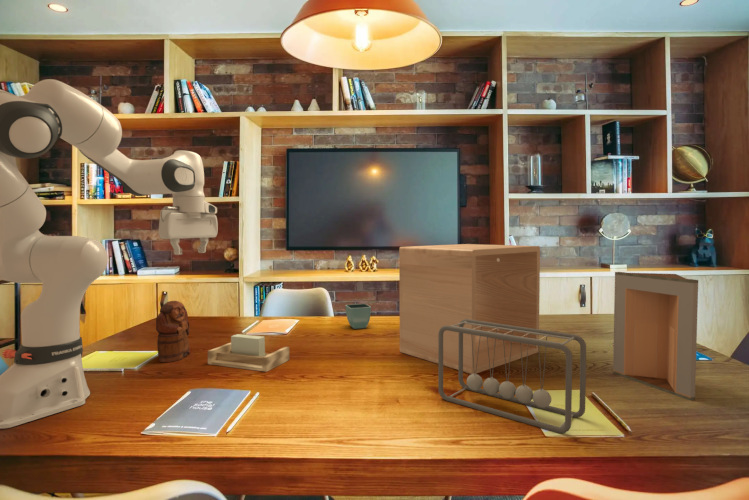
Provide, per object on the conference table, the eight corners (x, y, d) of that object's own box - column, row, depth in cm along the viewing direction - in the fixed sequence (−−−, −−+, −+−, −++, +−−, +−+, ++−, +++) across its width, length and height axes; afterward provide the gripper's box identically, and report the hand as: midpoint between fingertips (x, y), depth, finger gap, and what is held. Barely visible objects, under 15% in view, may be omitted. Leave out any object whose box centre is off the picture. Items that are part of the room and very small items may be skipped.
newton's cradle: (437, 398, 105) (437, 324, 104) (459, 386, 113) (460, 317, 112) (570, 437, 85) (571, 346, 84) (585, 419, 93) (587, 335, 92)
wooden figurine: (175, 363, 134) (173, 304, 133) (154, 363, 134) (153, 304, 133) (194, 352, 145) (192, 298, 144) (175, 352, 146) (174, 297, 145)
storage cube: (471, 375, 121) (472, 249, 120) (399, 352, 144) (399, 246, 142) (538, 352, 143) (540, 246, 142) (467, 335, 166) (467, 243, 164)
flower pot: (345, 326, 183) (344, 304, 183) (365, 324, 186) (365, 303, 185) (350, 330, 175) (350, 308, 174) (371, 329, 177) (371, 306, 177)
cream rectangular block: (259, 362, 131) (258, 339, 131) (231, 359, 135) (231, 336, 135) (265, 359, 134) (264, 336, 134) (237, 356, 138) (237, 334, 137)
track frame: (266, 371, 125) (266, 357, 125) (207, 364, 133) (207, 350, 132) (289, 359, 136) (289, 347, 136) (234, 353, 144) (233, 341, 144)
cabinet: (613, 373, 122) (615, 272, 121) (638, 369, 126) (640, 270, 124) (690, 400, 103) (693, 280, 101) (717, 394, 106) (721, 278, 105)
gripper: (169, 205, 120) (171, 256, 121) (220, 208, 139) (222, 252, 140) (152, 205, 123) (153, 255, 123) (204, 208, 142) (206, 251, 142)
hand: (190, 253), depth 132 cm, fingers open, 8 cm apart
